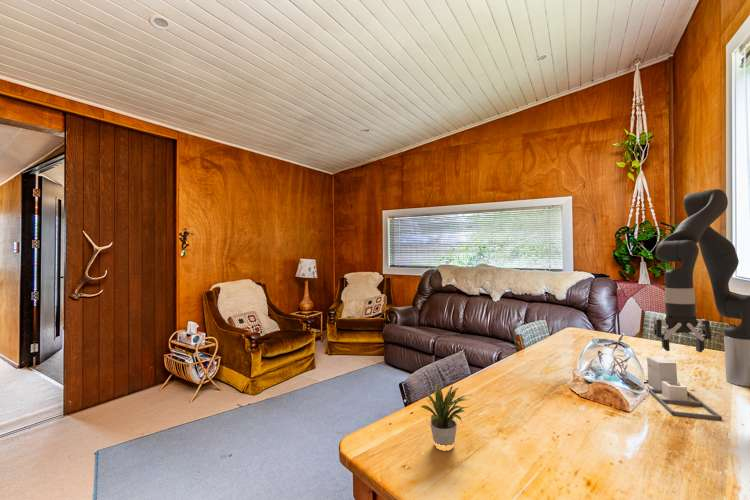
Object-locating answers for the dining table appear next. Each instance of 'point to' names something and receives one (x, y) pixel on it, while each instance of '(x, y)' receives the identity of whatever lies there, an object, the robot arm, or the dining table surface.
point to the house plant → (444, 416)
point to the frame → (697, 403)
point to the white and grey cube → (674, 391)
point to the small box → (660, 371)
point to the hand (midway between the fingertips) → (682, 351)
